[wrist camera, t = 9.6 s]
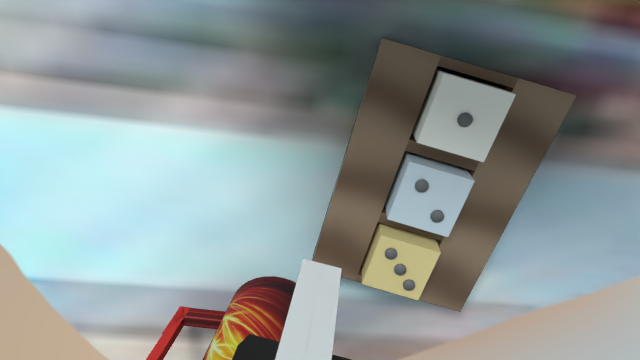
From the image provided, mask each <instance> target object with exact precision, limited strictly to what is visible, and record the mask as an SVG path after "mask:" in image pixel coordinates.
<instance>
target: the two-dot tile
mask: <svg viewBox="0 0 640 360" xmlns="http://www.w3.org/2000/svg"><path fill="white" fill-rule="evenodd" d="M474 182H475V180H474V179H473V178H472V176H471V175H470V173H469V172H468V171H467V169H466V168H462V167H459V166H455V165H452V164H449V163H445V162H442V161H439V160H435V159H432V158H428V157H425V156H422V155H418V154H415V153H411V152H408V151H405V152H404V154H403V157H402V160H401V162H400V165H399V168H398V170H397V173H396V175H395V178H394V181H393V183H392V186H391V189H390V191H389V194H388V196H387V199H386V202H385V207H386V215H387V219H388V220H391V221H395V222H398V223H402V224H405V225H408V226H412V227H415V228H418V229H422V230H425V231H429V232H432V233H435V234H439V235H442V236H445V237H448V236H449V234H450V232H451V230H452V228H453V226H454V224H455V222H456V220H457V218H458V215H459V213H460V211H461V209H462V207H463V205H464V203H465V201H466V199H467V197H468V194H469V192H470V190H471V188H472V186H473V184H474Z"/></svg>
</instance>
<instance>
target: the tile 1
mask: <svg viewBox="0 0 640 360" xmlns="http://www.w3.org/2000/svg"><path fill="white" fill-rule="evenodd" d="M440 254H441V252H440V249H439V246H438V243H437V240H436V239H434V238H430V237H427V236H424V235H420V234H417V233H413V232H410V231H407V230H403V229H400V228H397V227H393V226H390V225H386V224H383V223H380V222H378V223H377V225H376V228H375V231H374V233H373V236H372V238H371V241H370V244H369V246H368V249H367V252H366V254H365V257H364V259H363V262H362V284H364V285H367V286H371V287H374V288H377V289H381V290H384V291H387V292H391V293H394V294H398V295H401V296H404V297H408V298H411V299H414V300H419V298H420V296H421V293H422V291H423V289H424V287H425V285H426V283H427V281H428V279H429V277H430V275H431V272H432V270H433V268H434V266H435V264H436V262H437V260H438V258H439V256H440Z"/></svg>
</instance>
